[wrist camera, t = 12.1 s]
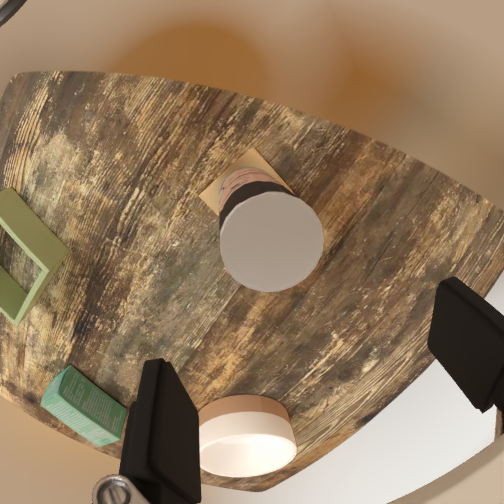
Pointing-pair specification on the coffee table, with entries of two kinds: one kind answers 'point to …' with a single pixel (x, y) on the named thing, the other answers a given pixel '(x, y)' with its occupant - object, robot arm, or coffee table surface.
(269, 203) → the grey printed cylinder
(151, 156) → the coffee table surface
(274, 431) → the bowl
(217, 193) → the coaster
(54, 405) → the box
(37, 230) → the crate
